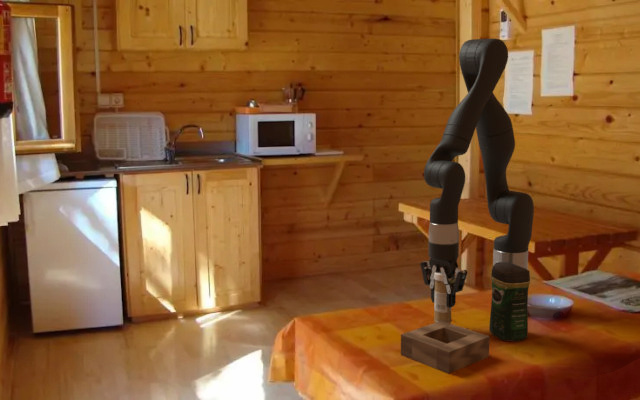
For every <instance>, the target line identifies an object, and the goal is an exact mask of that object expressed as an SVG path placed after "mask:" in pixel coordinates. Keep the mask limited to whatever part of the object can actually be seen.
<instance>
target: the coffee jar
mask: <svg viewBox="0 0 640 400" xmlns="http://www.w3.org/2000/svg"><path fill="white" fill-rule="evenodd" d="M530 272H531V271H530V270H529V269H528V270H527V269H525V268H522V267H520V266H518V265H515V264H513V263H511V262H497V263H495V265H494V266H493V265H492V267H491V274H490V275H491V276H490V277H491V278H490V279H491V302H490V303H491V305H490V314H489V315H490V316H489V317H490V318H489V327H488V328H489V332H490V333H491V334H492V335H493V337H496V338H498V339H500V340H502V341H505V342H506V341H509V342H510V341H511V342H520V341H523V340H525V339H527V338H528V335H529V333H528V332H529V326H528V325H529V324H528V323H529V322H528V321H529V319H528V315H529V314H528V311H529V310H528V309H529V308H528V307H529V306H528V304H529V303H528V302H529V301H528V300H529V299H528V298H529V288H530V285H531V279H530V278H531V275H530V274H531V273H530Z"/></svg>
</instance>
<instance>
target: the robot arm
mask: <svg viewBox="0 0 640 400" xmlns="http://www.w3.org/2000/svg"><path fill="white" fill-rule="evenodd" d="M507 46H508V45H507V44H506V43H505V42H504V41H503V40H502V39H500V38H476V39H475V38H473V39H468V40H466V41H464V43H462V45H461V47H460V50H459V53H458V54H459V55H458V57H459V58H458V59H459V60H458V61H459V68H460V70H461V74H462V77H463V81H464V84H465V88H466V90H467V94H466V95H465V96H464V98H463V99H462V100H461V101H460V102H459V103H458V104H457V105H456V107H455V108H454V110H453V111H452V113H451V114H450V115H449V118H448V119H447V122H446V125H445V128H444V132H443V133H442V137H441V140H440V142H439V143H438V144H437V146H436V147H435V148H434V150H433V152H432V153H431V155H430V157H429V158H428V160H427V161H426V164H425V166H424V169H423V178H424V182H425V183H426V185H428V186H429V187H431V188H436V189H442V191H441V195H440V197H435V198H433V199H432V200H431V201H430V203H429V226H428V252H427V253H428V258H429V260H423V261H422V262H420V269H421V274H422V278H423V283H424V285H426V286H429V288H430V300H431V302H432V304H433V303H434V290H435V279H434V273H436V272H439V273H441V274H443V281H444V284H445V285H446V288H447V292H448V293H447V307H449V308H450V307H452V308H453V307H455V305H456V302H457V301H456V298H457V294H456V293H459V292H462V291H463V289H464V286H465V282H466V279H467V275H468V270H467V269H461V268H460V267H459V264H458V258H459V253H460V252H459V250H460V248H459V247H460V244H459V243H460V231H459V230H460V227H459V204H460V201H461V199H462V195H463V191H464V188H465V184H466V172H465V169H464V166H463V165H461V163H460V162H457V161H453V160H454V159H455V158H456V157H459V156H463V155H465V154H466V153H467V152H468V150H469V148H470V145H471V143H472V139H473V136H474V133H475V130H476V136H477V137H476V138H477V140H478V141H477V142H478V147H479V152H480V154H481V159H482V166H483V172H484V178H485V188H486V189H485V190H486V199H487V200H486V201H487V208H488V209H487V210H488V212H489V216H490V218H491V219H492V220H493V221H494V222H496V223H499V224H505V225H508V228H507V234H504V235H499V236H496V237H495V238H494V240H493V255H492V257H493V258H492V267H493V266H494V265H495V263H497V262H511V263H513V264H515V265H518V266H520V267H522V268H525V269H527V270H529V268H528V266H529V246H530V243H531V239H532V234H533V233H532V232H533V224H534V223H533V222H534V216H535V215H534V214H535V212H534V211H535V206H534V201H533V198H532V196H531V195H530V194H528V193H526V192H521V191H514V190H510V188H509V185H508V180H507V169H508V167H509V163H510V161H511V159H512V157H513V154H514V152H515V147H516V140H515V139H516V138H515V134H514V128H513V123H512V120H511V117H510V116H509V114H508V112H507V110H506V109H505V108H504V106H503V105H502V104H501V102H500V101H499V99H497V97H496V95H495V93H494V91H495V89H496V87H497V84H498V83H499V81H500V80H501V78H502V75H503V73H504V71H505V69H506V67H507V64H508V59H509V51H508V48H507ZM450 278H452V280H450V281H449V280H448V279H450Z"/></svg>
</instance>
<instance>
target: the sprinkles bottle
mask: <svg viewBox="0 0 640 400" xmlns="http://www.w3.org/2000/svg"><path fill="white" fill-rule="evenodd" d="M434 279H435V290H434V307H433V308H434V317H433V318H434V319H433V321H434V322H433V323H436V322H439V321H444V322H447V323H450V324H452V308H453V307H450V308H449V307H447V293H448V292H447V288H446V285H445V284H444V281H443V274H441V273H439V272H436V273H434ZM448 280H449V281H450V280H452V278H450V279H448Z"/></svg>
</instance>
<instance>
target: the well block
mask: <svg viewBox="0 0 640 400" xmlns="http://www.w3.org/2000/svg"><path fill="white" fill-rule="evenodd" d="M490 338H491V337H490V336H489V335H487V334H484V333H480V332H477V331H474V330H471V329H468V328H465V327H464V326H463V327H462V326H458V325H457V324H453V323H447V322H444V321H439V322H436V323H435V322H433V323H431V324H427V325H425V326H422V327H421V326H420V327H419V328H416V329H413V330H410V331H407V332H405V333H404V332H403V333H402V334H400V355H401V356H403V357H405V358H407V359H411V360H414V361H415V362H418V363H421V364H422V365H425V366H428V367H431V368H433V369H435V370H439V371H441V372H444V373H446V374H448V375H449V374H451V373H453V372H455V371H458V369H459V370H461V369H464V368H465V367H468V366H470V365H472V364H475V363H478V362H480V361H483V360H484V359H487V358H489V357H490ZM460 368H461V369H460Z"/></svg>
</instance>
